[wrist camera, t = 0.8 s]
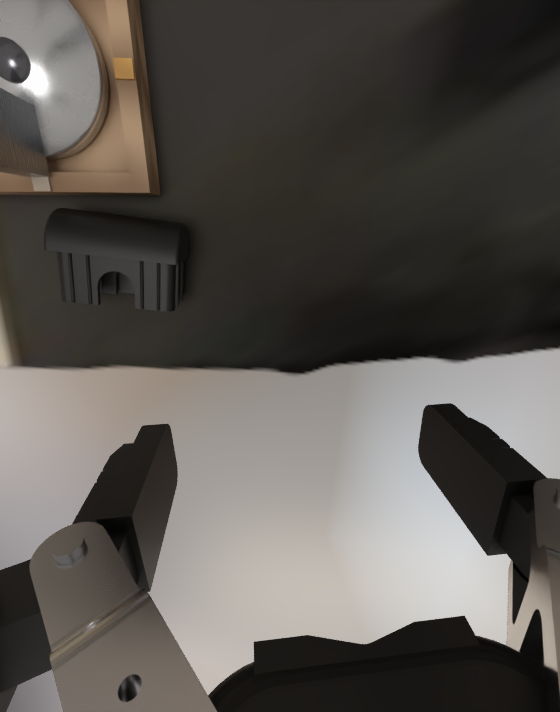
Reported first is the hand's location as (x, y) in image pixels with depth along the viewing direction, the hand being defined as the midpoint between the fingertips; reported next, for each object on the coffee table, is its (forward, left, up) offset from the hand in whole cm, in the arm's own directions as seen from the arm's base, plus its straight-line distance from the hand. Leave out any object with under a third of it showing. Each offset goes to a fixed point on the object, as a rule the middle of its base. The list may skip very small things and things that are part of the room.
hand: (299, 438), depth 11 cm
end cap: (-3, -12, -27) cm, 30 cm away
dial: (-16, -17, -24) cm, 33 cm away
